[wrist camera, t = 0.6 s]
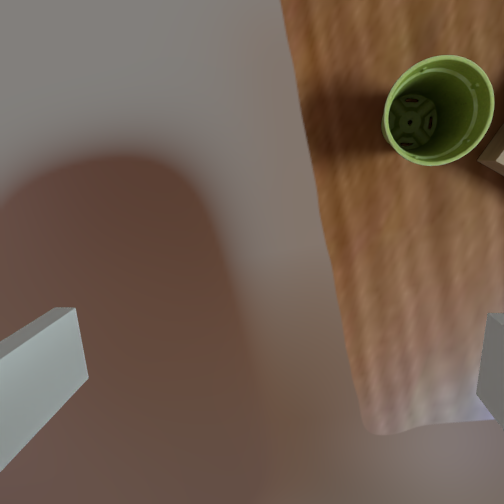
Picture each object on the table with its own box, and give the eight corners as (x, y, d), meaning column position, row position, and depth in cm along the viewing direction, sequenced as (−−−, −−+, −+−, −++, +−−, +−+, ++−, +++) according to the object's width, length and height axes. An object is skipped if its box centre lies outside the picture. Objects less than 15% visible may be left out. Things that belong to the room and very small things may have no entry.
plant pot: (368, 78, 39) (388, 57, 31) (458, 75, 38) (503, 51, 30) (363, 164, 42) (380, 166, 33) (447, 163, 41) (486, 165, 32)
